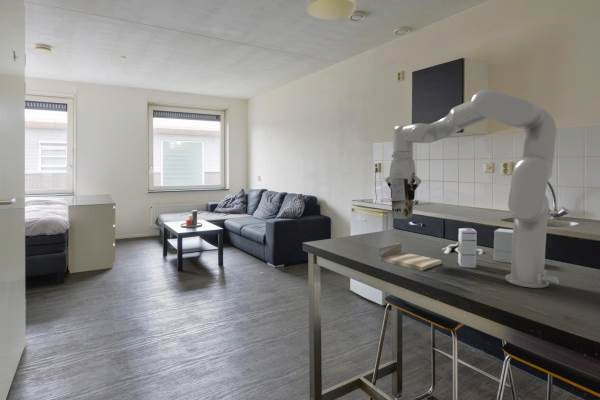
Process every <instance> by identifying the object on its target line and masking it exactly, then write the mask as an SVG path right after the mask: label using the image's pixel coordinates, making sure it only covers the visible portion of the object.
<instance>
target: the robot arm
mask: <svg viewBox="0 0 600 400" xmlns="http://www.w3.org/2000/svg"><path fill="white" fill-rule="evenodd" d="M488 119H490V120H493V121H495V122H498V123H501V124H505V125H507V126H510V127H513V128H516V129H521V130H524V132H525V138H524V143H523V150H522V157H521V159H519V160H517V162H516V164H515V165H514V167H513V170H512V173H511V180H510V187H509V195H508V205H507V206H508V211H509V213H510V214H511V215H512V217H513V227H512V230H513V240H512V260H511V263H510V273H508V274H506V275H505V276H504V279H505V280H506V282H508V283H509V284H512V285H515V286H518V287H525V288H529V289H530V288H531V289H532V288H533V289H543V288H547V287H549V285H550V283H551V284H554V285H559V282H560V279H559V277H557V276H554V275H549V274H548V270H546V269H545V261H546V245H547V243H546V242H547V231H548V230H547V229H548V219H549V211H550V201H549V199H548V196H547V195H546V191H547V185H548V181H549V180H550V178H551V177H552V174H553V164H554V163H553V162H554V157H555V147H556V138H557V126H556V121H555V119H554V117H553V115H552V114H551V113H549V111H547V110H546V109H544V108H542V107H541V106H539V105H536V104H535V103H533V102H531V101H529V100H526V99H523V98H519V97H517V96H512V95H509V94H506V93H502V92H499V91H496V90H494V89H490V88H485V89H482V90H479V91H477V92H476V93H475V94H474V95H472V97H471V100H468V101H465V102H464V103H461V104H459V105H456V106H454V107H452V108H451V109H450V111H449V112H448V114H447V115H445V117H442V118H441V119H438V120H437V121H434V122H431V123H422V122H420V123H419V122H418V123H413V124H409V125H407V124H403V125H402V124H401V125H396V126H395V127H394V128H393V153H392V154H391V157H392V158H393V159H392V160H391V162H390V165H389V166H390V167H389V173H388V175H389V176H388V177H386V178H385V179H384V180H385V182H386V185H387V187H389V190H390V199H391V200H392V179H408V184H409V189H410V190H409V194H408V200H413V201H414V200H415V199H416V198H415V195H416V190H417V188H418V187H419V186H420V185H421V183H422V179H421V178H419V177H418V176H417V174H416V173H417V172H416V163H415V159H413V158H414V157H413V155H414V154H413V153H414V151H413V150H414V149H413V148H414V143H418V144H431V143H435V142H438V141H441V140H442V139H445V138H447V137H450V136H452V135H453V134H455V133H458V132H459V131H461V130H464V129H466V128H469V127H472V126H474V125H476V124H479V123H481V122H484V121H486V120H488Z"/></svg>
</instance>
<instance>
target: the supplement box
mask: <svg viewBox="0 0 600 400" xmlns="http://www.w3.org/2000/svg"><path fill="white" fill-rule="evenodd" d="M493 233H494V234H493V235H494V237H493V261H494V262H499V263H501V262H502V263H508V264H511V260H512V240H513V229H507V228H497V229H496V230H494V231H493Z"/></svg>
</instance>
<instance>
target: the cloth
mask: <svg viewBox="0 0 600 400" xmlns="http://www.w3.org/2000/svg"><path fill="white" fill-rule="evenodd" d="M441 250H442V251H443V253H444V254H447V255H448V254H449V255H450V254H451V252H455V253H457V254H458V242H456V244H452V243H451V244H449V245H448V246H446V247H443V248H442V249H441ZM483 254H484V250H483V249H482V248H476V255H483Z"/></svg>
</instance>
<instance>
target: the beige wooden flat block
mask: <svg viewBox="0 0 600 400" xmlns="http://www.w3.org/2000/svg"><path fill="white" fill-rule="evenodd" d="M378 251H379V252H378V260H379V261H381V262H384V263H388V264H392V265H395V266H396V265H397V266H400V267H406V268H410V269H413V270H418V271H424V270H428V269H430V268H433V267H436V266H439V265H441V264H442V260H441V259H437V258H433V257H427V256H423V255H418V254H414V253H413V254H412V253H409V252H405V251H402V242H396V243H392V244H387V245H383V246H379V248H378Z"/></svg>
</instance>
